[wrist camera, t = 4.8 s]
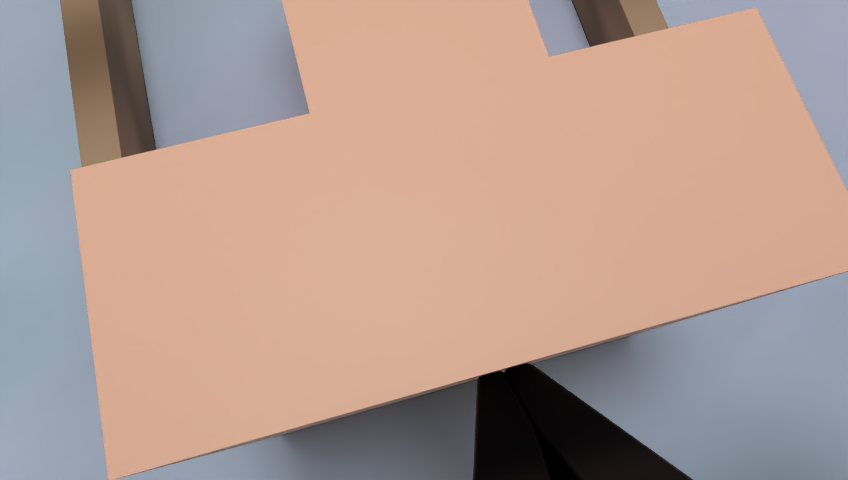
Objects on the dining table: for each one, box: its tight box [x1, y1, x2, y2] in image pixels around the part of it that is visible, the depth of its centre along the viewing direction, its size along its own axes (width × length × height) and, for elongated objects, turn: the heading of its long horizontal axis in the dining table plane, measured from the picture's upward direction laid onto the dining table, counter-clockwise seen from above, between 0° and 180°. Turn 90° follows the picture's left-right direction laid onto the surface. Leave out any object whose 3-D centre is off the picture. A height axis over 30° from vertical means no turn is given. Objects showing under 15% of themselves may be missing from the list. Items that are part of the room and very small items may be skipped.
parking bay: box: [60, 0, 668, 167], centre depth 17 cm, size 16×16×2 cm
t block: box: [70, 0, 848, 480], centre depth 13 cm, size 12×10×9 cm
